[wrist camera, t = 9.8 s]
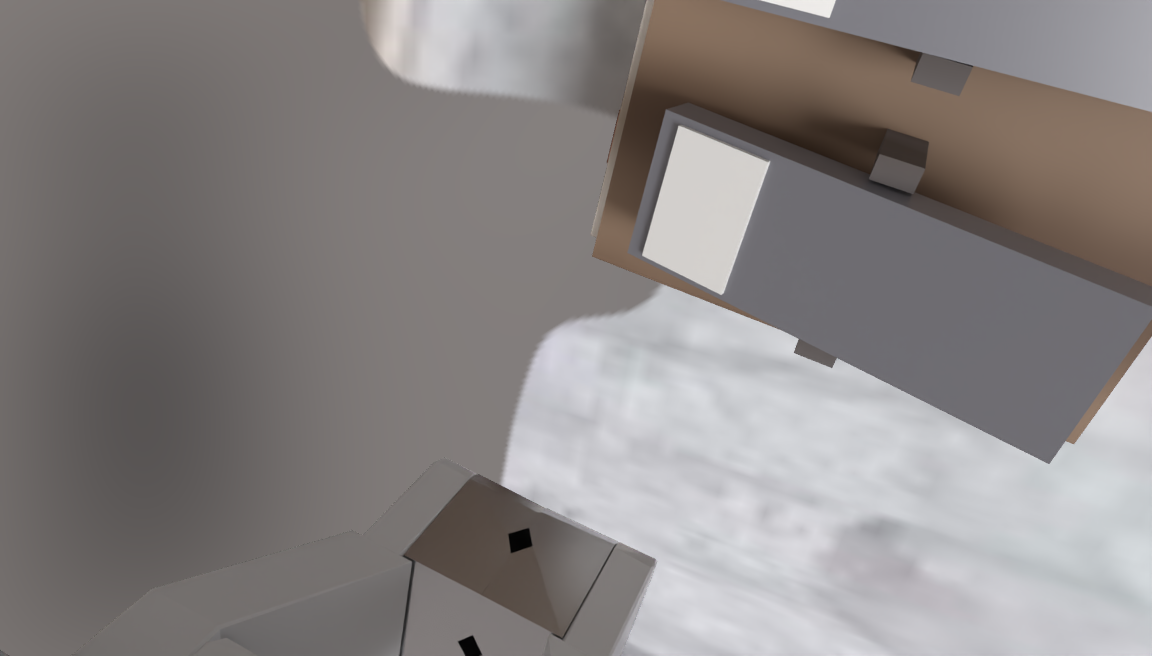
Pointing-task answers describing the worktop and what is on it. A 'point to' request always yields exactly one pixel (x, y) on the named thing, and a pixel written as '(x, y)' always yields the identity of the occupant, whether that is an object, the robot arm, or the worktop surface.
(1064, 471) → the worktop surface
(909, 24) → the rocker middle
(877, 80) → the switch unit
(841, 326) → the rocker
